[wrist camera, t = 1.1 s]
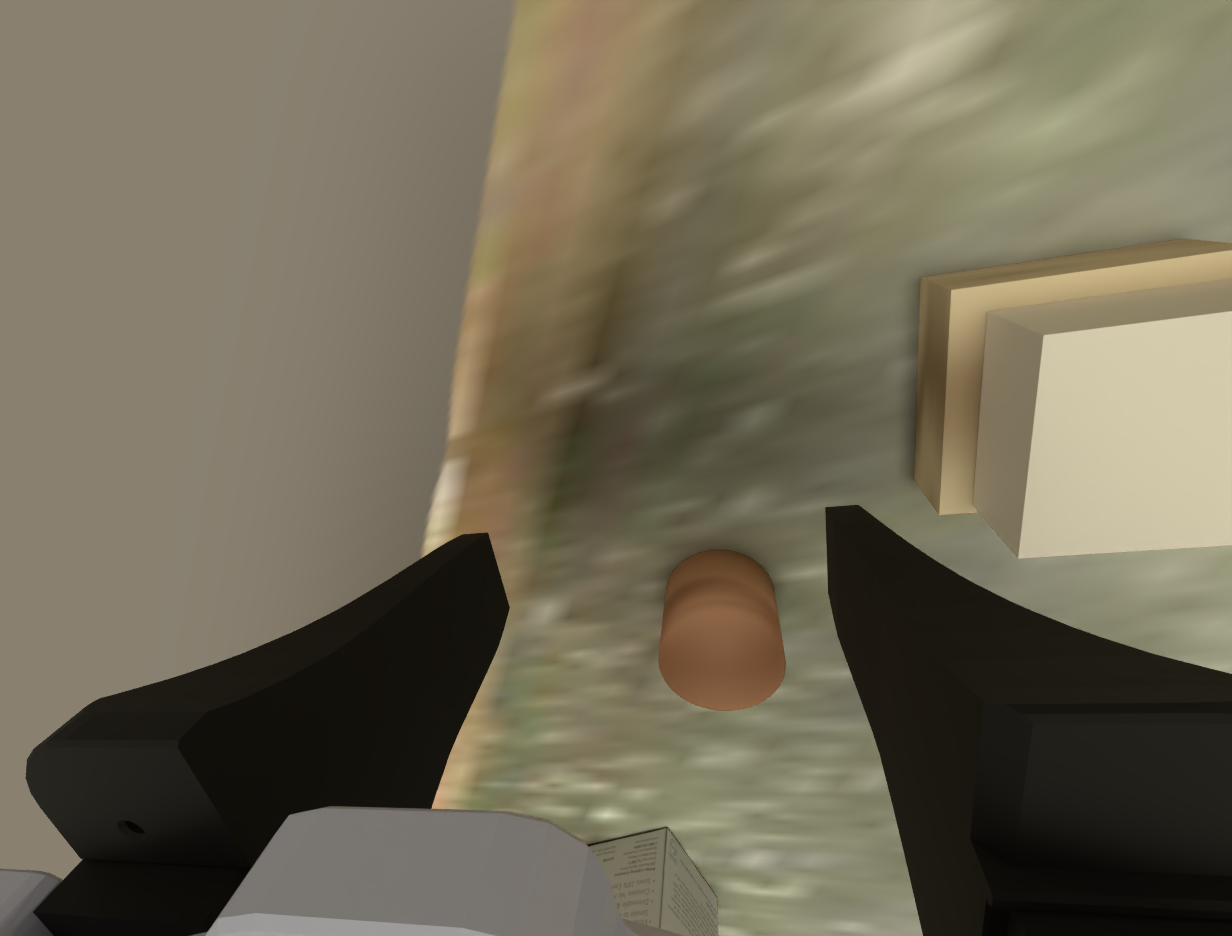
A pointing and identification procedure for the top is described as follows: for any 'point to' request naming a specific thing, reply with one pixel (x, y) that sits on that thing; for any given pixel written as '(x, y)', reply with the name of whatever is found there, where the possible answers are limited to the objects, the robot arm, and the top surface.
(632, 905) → the light bulb box
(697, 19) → the top surface
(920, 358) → the tower base
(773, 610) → the cylinder
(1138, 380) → the tower top
